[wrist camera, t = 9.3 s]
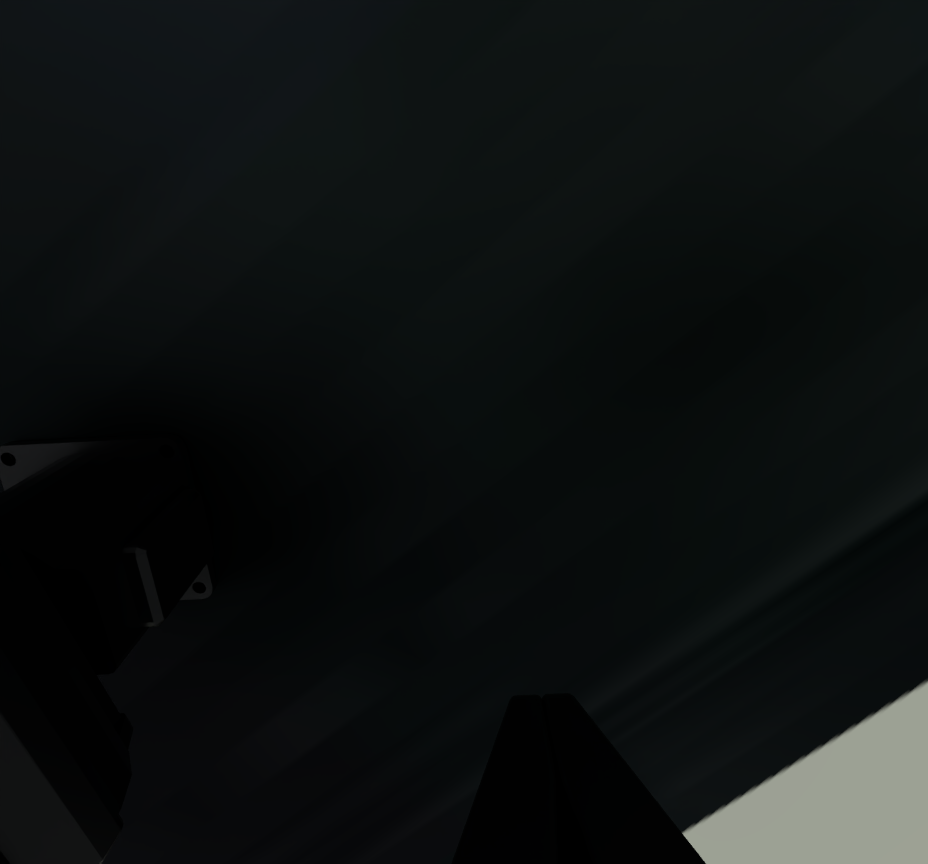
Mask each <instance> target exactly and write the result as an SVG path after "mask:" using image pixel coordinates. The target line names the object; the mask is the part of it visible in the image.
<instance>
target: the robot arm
mask: <svg viewBox="0 0 928 864" xmlns="http://www.w3.org/2000/svg"><path fill="white" fill-rule="evenodd" d="M165 445H169V446H171V447H172V448H173V450H174V454H170V453H168V452H167V451H166V449H165ZM9 453H11V454H12V455H13V456H14V457H15V459H16V461H14V460H12V459H11V457H10V456H9ZM0 479H1V482H2V485H3V488H4V490H5V491H3V492H2V493H0V864H101V863H102V862H103V860H104V858H105V857H106V855H107V854H108V852H109V850H110V849H111V847H112V846H113V844H114V842H115V841H116V839H117V837H118V835H119V834H120V832H121V829H122V827H123V820H122V818H121V817H120V815H119V814H118V813H119V811H120V809H121V807H122V804H123V801H124V798H125V794H126V791H127V788H128V785H129V782H130V779H131V775H132V773H131V765H130V757H129V751H128V747H129V744H130V740H131V736H132V732H133V727H132V725H131V723H130V722H129V720H128V718H127V717H126V715H125V714H124V713H120V714H119V712H118V710H117V709H116V707H115V705H114V704H113V702H112V700H111V699H110V697H109V695H108V694H107V692H106V690H105V689H104V687H103V685H102V684H101V682H100V680H99V679H98V677H97V675H99V674H110V673H114V671H115V670H116V669H117V668H118V667H119V665H120V664H121V663H122V661H123V660H124V659H125V657H126V656H127V655H128V654H129V652H130V651H131V650H132V648H133V647H134V646H135V645H136V643H137V642H138V641H139V639H140V638H141V637H142V636H143V634H144V633H145V632H146V630H147V629H148V628H149V627H155V626H159V625H160V624H161V623H162V622H163V621H164V620H165V619H166V618H167V616H168V615H169V614H170V612H171V611H172V610H173V608H174V607H175V606H176V604H177V603H178V602H179V600H192V599H204V598H207V597H209V596H210V595H211V594H212V592H213V591H214V589H215V587H216V585H217V581H216V576H215V572H214V568H213V563H212V559H211V558H212V556H213V555H214V548H213V544H212V539H211V535H210V530H209V526H208V521H207V517H206V512H205V508H204V503H203V499H202V495H201V494H200V493H199V492H198V491H197V490H196V488H195V483H194V479H193V475H192V470H191V466H190V461H189V457H188V452H187V448H186V445H185V443H184V441H183V440H182V439H181V438H180V437H178V436H176V435H174V434H157V435H137V436H117V437H97V438H77V439H58V440H38V441H18V442H9V443H6V444H4V445H2V446H0ZM197 582H201V583H203V584H204V585H205V587H201V586H199V585H198V583H197ZM452 864H706V863H705V862H704V861H703V860H702V858H701V857H700V856H699V854H698V853H697V852H696V850H695V849H694V848H693V847H692V845H691V844H690V843H689V842H688V840H687V839H686V838H685V837H684V835H683V834H682V833H681V831H680V830H679V829H678V828H677V826H676V825H675V824H674V823H673V821H672V820H671V819H670V817H669V816H668V815H667V814H666V812H665V811H664V810H663V809H662V807H661V806H660V805H659V804H658V802H657V801H656V800H655V798H654V797H653V796H652V795H651V793H650V792H649V791H648V790H647V788H646V787H645V786H644V785H643V783H642V782H641V781H640V779H639V778H638V777H637V776H636V774H635V773H634V772H633V771H632V769H631V768H630V767H629V766H628V764H627V763H626V762H625V760H624V759H623V758H622V757H621V755H620V754H619V753H618V752H617V750H616V749H615V748H614V747H613V745H612V744H611V743H610V741H609V740H608V739H607V738H606V736H605V735H604V734H603V733H602V731H601V730H600V729H599V728H598V726H597V725H596V724H595V722H594V721H593V720H592V719H591V717H590V716H589V715H588V714H587V712H586V711H585V710H584V709H583V707H582V706H581V705H580V703H579V702H578V701H577V700H576V698H575V697H574V696H573V695H571V694H568V693H564V694H546V695H544V696H543V698H542V699H541V697H540V696H538V695H517V696H513V697H512V698H511V699H510V701H509V704H508V707H507V710H506V712H505V715H504V718H503V721H502V724H501V726H500V729H499V732H498V735H497V738H496V740H495V743H494V746H493V749H492V752H491V754H490V757H489V760H488V763H487V766H486V769H485V771H484V774H483V777H482V780H481V783H480V785H479V788H478V791H477V794H476V797H475V799H474V802H473V805H472V808H471V811H470V813H469V816H468V819H467V822H466V825H465V828H464V830H463V833H462V836H461V839H460V842H459V844H458V847H457V850H456V853H455V856H454V858H453V861H452Z"/></svg>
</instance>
